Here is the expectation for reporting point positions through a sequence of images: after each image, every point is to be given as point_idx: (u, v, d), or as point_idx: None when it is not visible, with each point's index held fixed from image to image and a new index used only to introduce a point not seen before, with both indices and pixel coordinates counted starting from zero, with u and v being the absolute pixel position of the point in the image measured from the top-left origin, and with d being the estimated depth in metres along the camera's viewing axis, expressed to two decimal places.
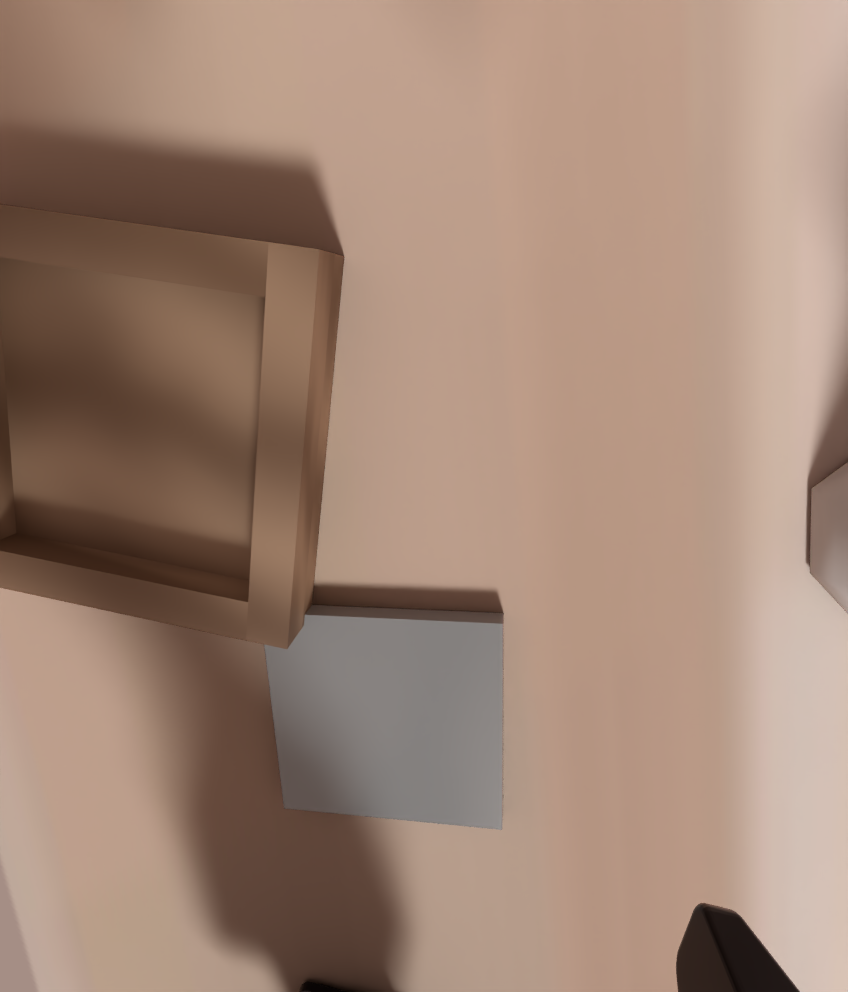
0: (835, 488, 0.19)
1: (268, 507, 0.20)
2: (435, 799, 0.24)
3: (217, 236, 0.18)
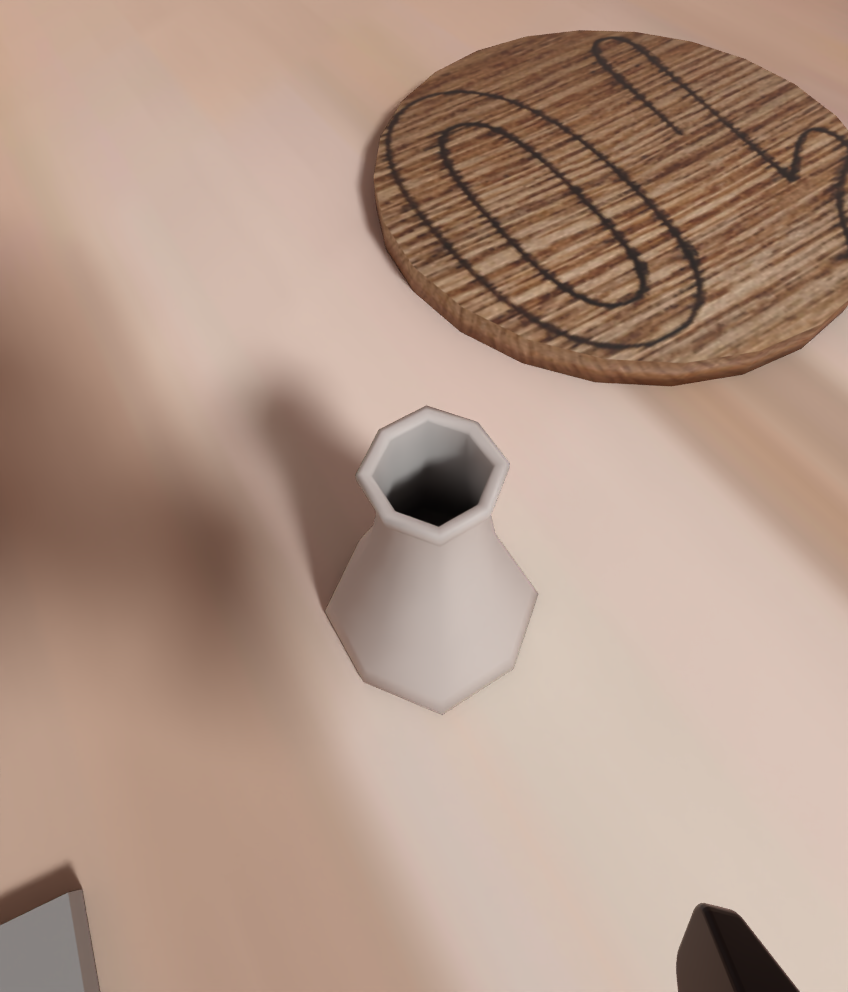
0: None
1: None
2: None
3: None
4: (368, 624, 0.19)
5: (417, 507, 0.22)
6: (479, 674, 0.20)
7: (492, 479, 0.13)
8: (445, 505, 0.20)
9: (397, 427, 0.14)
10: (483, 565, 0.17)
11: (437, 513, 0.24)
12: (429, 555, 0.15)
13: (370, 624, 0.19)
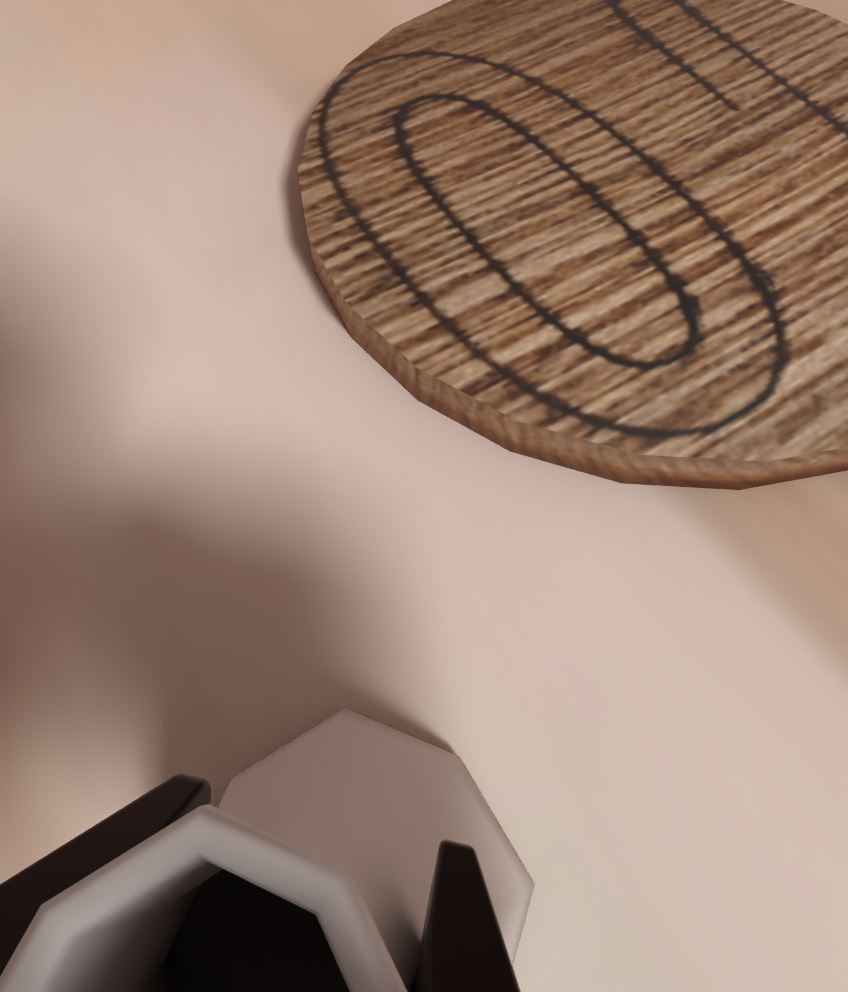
0: None
1: None
2: None
3: None
4: None
5: None
6: None
7: None
8: None
9: (100, 894, 0.05)
10: None
11: None
12: None
13: None
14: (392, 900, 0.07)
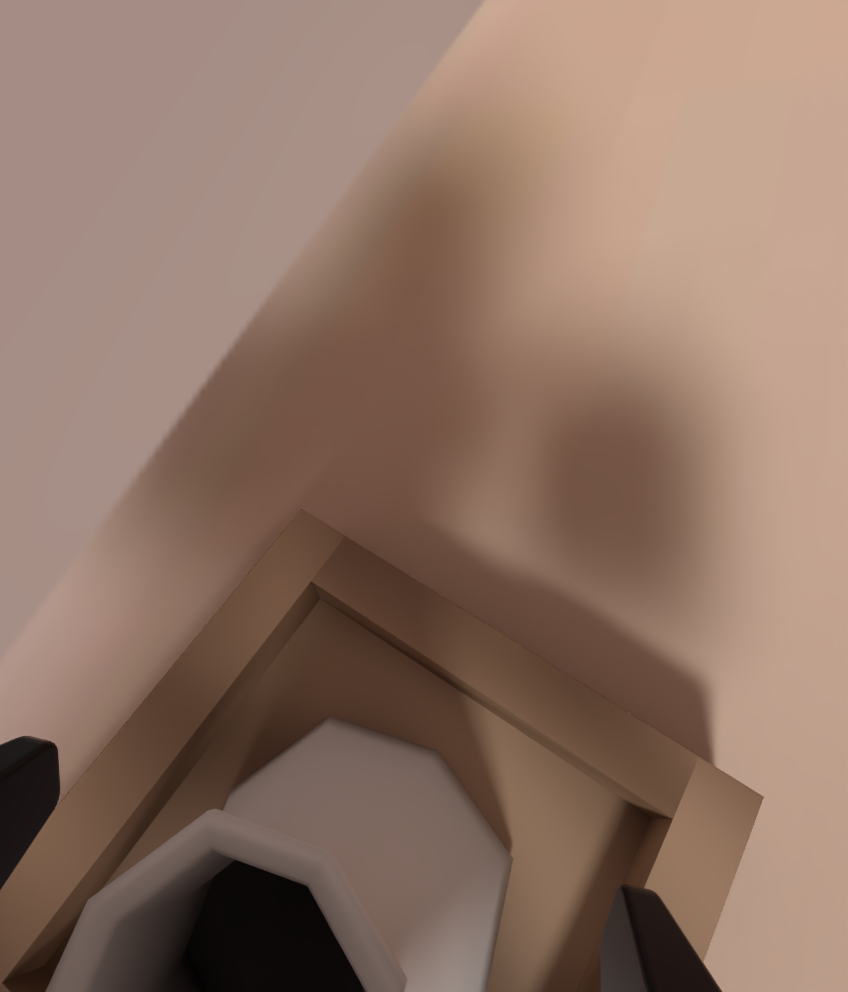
0: None
1: None
2: None
3: (635, 719, 0.14)
4: None
5: None
6: None
7: None
8: None
9: (134, 886, 0.06)
10: None
11: None
12: None
13: None
14: (376, 878, 0.08)
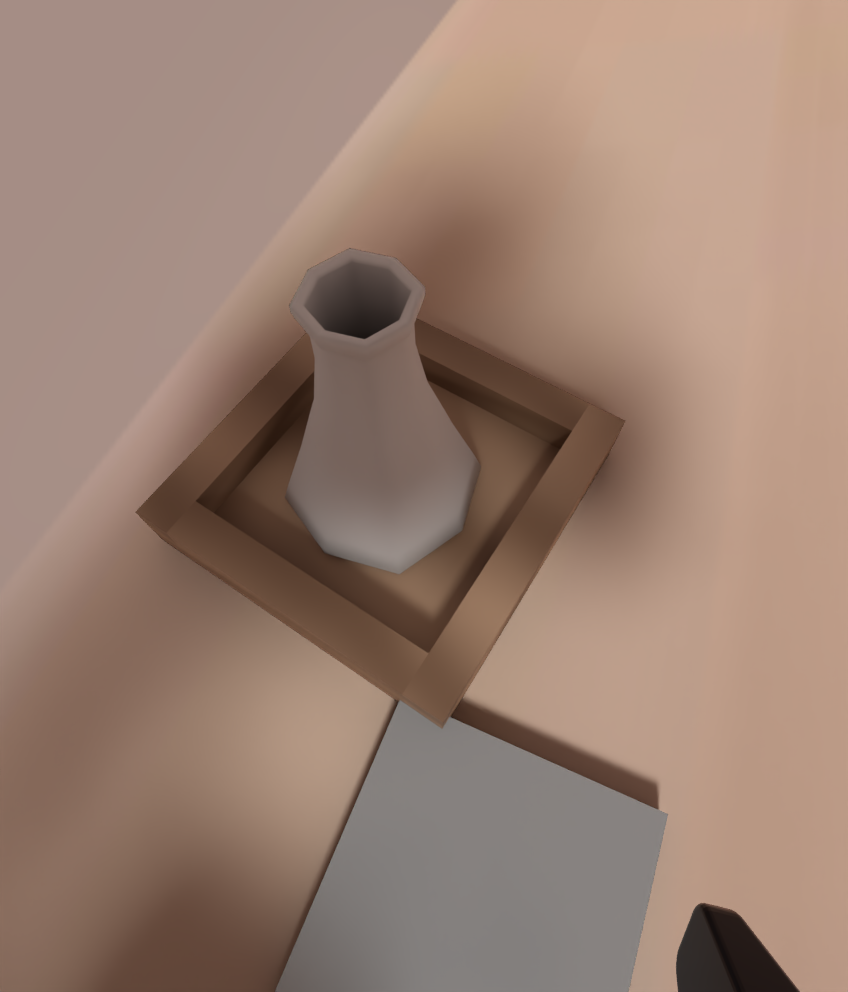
0: None
1: (498, 572, 0.21)
2: None
3: (553, 387, 0.24)
4: (322, 487, 0.21)
5: None
6: (429, 531, 0.22)
7: (410, 300, 0.15)
8: None
9: (324, 266, 0.16)
10: (417, 408, 0.18)
11: None
12: (363, 384, 0.16)
13: (324, 487, 0.21)
14: None
